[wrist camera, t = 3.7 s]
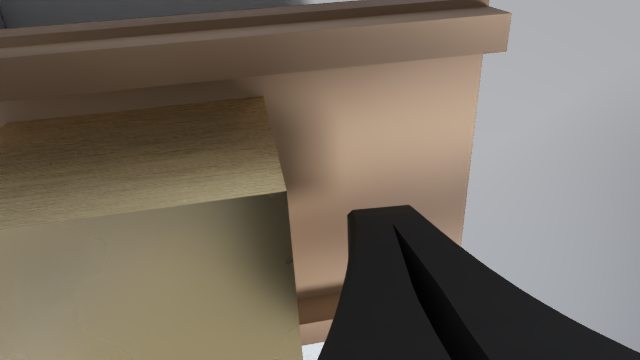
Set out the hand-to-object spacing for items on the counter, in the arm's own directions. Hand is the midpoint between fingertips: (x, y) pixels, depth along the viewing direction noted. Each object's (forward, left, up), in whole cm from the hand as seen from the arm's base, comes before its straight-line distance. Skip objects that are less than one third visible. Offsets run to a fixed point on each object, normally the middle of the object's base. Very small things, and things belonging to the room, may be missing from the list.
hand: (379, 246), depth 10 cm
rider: (0, +5, -2) cm, 5 cm away
